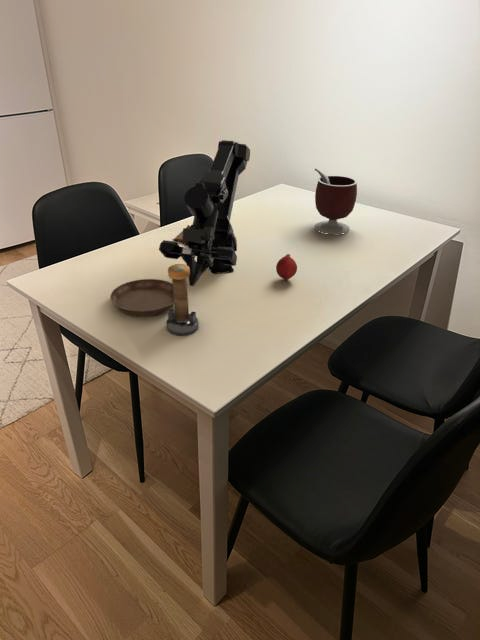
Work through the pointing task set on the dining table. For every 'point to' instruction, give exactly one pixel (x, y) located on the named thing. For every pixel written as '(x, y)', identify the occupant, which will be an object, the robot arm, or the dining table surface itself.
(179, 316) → the brown capped cylinder
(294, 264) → the onion
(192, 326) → the tribrach base
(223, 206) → the robot arm
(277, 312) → the dining table surface
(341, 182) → the mate gourd
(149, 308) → the plant saucer
